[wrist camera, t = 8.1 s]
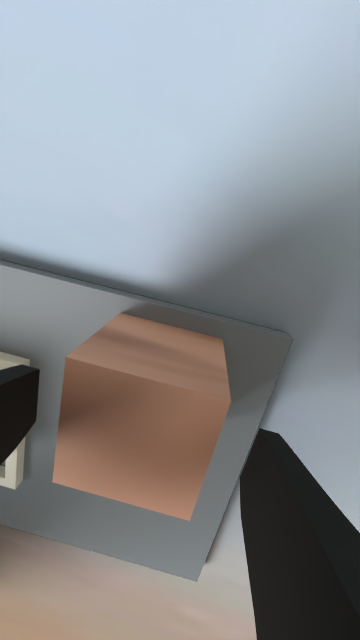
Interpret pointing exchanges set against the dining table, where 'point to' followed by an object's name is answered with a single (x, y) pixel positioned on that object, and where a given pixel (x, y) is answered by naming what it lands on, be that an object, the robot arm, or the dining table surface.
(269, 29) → the dining table surface
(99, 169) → the dining table surface
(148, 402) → the terracotta block
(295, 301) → the dining table surface
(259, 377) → the grey board
